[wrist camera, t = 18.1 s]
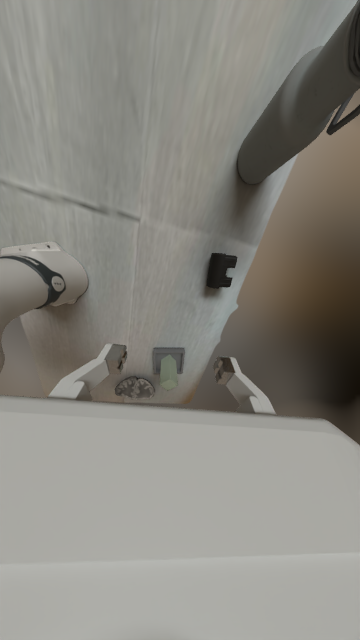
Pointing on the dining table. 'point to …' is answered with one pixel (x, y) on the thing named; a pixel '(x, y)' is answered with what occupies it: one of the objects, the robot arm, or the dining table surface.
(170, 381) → the sage block
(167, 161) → the dining table surface
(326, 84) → the water bottle
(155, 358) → the grey tray
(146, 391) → the brain slice
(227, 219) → the dining table surface
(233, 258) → the end cap
